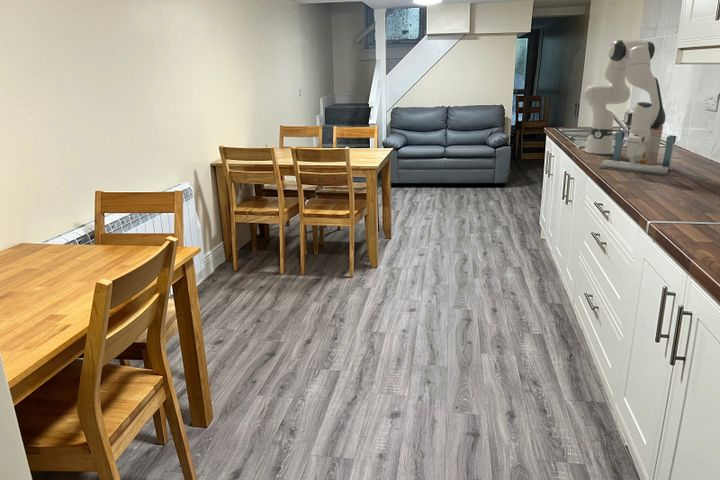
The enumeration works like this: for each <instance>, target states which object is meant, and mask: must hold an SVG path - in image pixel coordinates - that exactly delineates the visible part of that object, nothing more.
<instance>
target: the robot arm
mask: <svg viewBox="0 0 720 480" xmlns="http://www.w3.org/2000/svg"><path fill="white" fill-rule="evenodd" d="M655 51H656V47H655V44H654V43H653V42H651V41H647V40H646V41H644V40H638V39H633V40H631V39H629V40H622V39H619V40H614V41H613V42H612V43H611V44H610V47H609V50H608V57H609V61H608V63H607V66H606V68H605V71H604V77H605V79H606V80H607V81H608V82H609V84H593V85H588V86H587V88H585V89H584V93H583V99H584V101H585V103H587V104H588V105H589V107H590V108H591V110H592V111H591V112H592V125H591V128H590V135H588V136H587V138H586V143H585V147H584V148H582V151H583V152H586V153H589V154H595V155H598V154H599V155H613V153H614V146H615V138H614V137H613V135H614V128H613V126H614V119H615V117H614V116H615V115H614V114H613V112H611V111H609V110H608V109H607V105H620V104H621V105H622V104H625V103H627V102H628V100H629V99H630V97H631V90H630V88H629V86H628V85H627V84H626V80H627V82H628V83H629V84H630V85H631V86H634V87H635V88H639V89H641V90H643V91H645V92H647V94H648V95H649V99H650V102H645V101H640V102H636V103H635V104H634V105H635V106H634V107H632V108H629V109H628V110H626V111H625V113H624V117H623V124H625V126H626V127H628V128H630V130H629V134H628V136H627V139H626V141H627V146H626V157H627V158H628V159H629V162H630V166H634V163H639V161H640V158H641V154H643V153H644V152H645V149H646V141H648V140H649V134H650V129H658V128H659V127H661V126H664V124H665V122H666V113H665V109H664V106H663V102H662V101H663V100H662V99H663V98H662V95H661V88H660V85H659V80H658V78H657V77H656V76H655V75H654V74H653V73H652V71H651V60H652V59H653V57H654V55H655ZM635 157H636V159H635ZM634 160H635V161H634Z"/></svg>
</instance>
